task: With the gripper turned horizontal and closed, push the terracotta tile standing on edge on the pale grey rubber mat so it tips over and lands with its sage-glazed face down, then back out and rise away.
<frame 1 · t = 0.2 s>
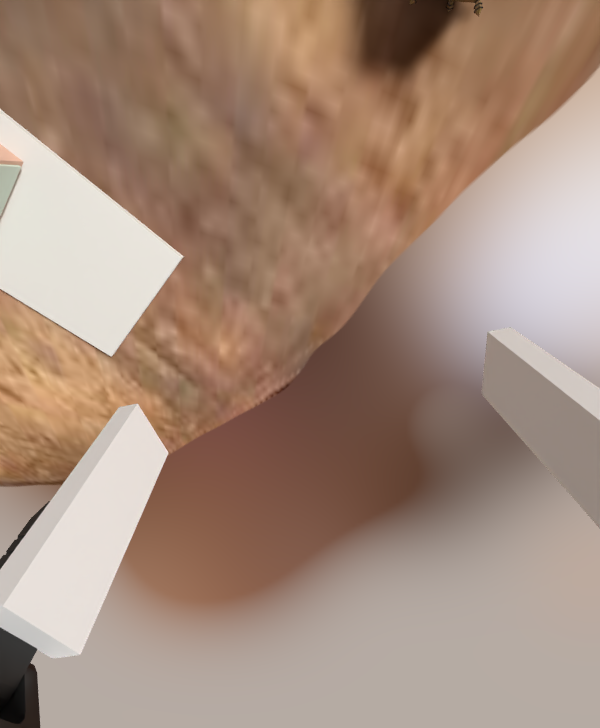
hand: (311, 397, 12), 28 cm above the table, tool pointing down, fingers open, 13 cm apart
rubber mat: (59, 249, 35), on the table
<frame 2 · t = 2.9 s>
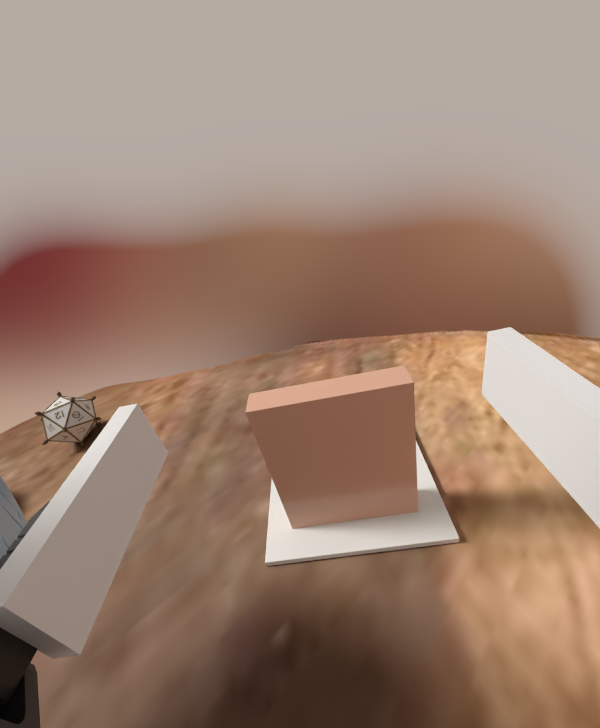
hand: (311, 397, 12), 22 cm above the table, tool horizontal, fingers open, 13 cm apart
terracotta tile: (352, 508, 31), point 1 cm above the table, touching rubber mat
game die: (85, 437, 53), on the table
rubber mat: (344, 460, 37), on the table
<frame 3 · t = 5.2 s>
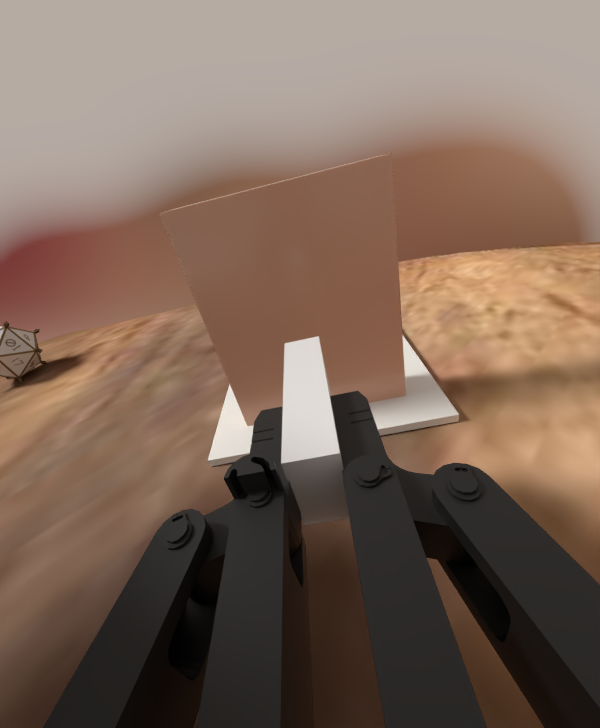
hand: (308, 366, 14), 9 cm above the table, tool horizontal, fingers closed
terracotta tile: (323, 401, 24), point 1 cm above the table, touching rubber mat
game die: (26, 376, 46), on the table
rubber mat: (318, 364, 30), on the table
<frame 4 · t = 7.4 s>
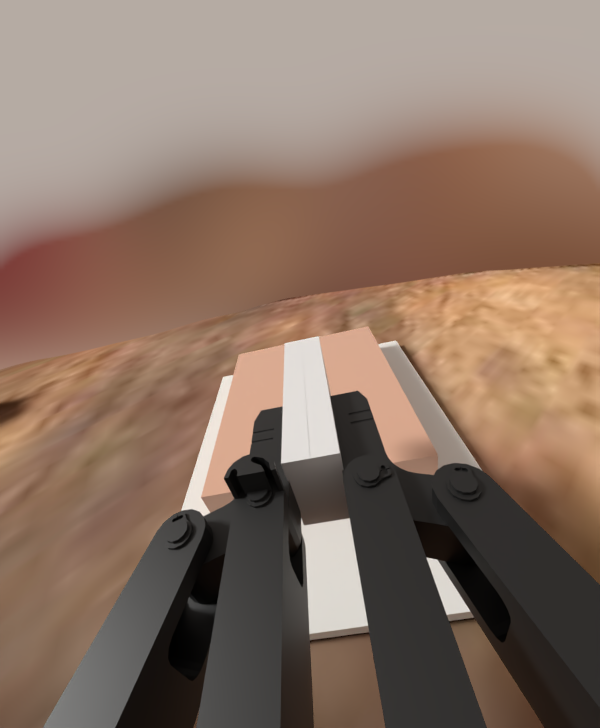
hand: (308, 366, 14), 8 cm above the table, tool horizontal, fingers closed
terracotta tile: (320, 491, 16), point 2 cm above the table, tilted 90°, touching rubber mat
rubber mat: (318, 443, 22), on the table
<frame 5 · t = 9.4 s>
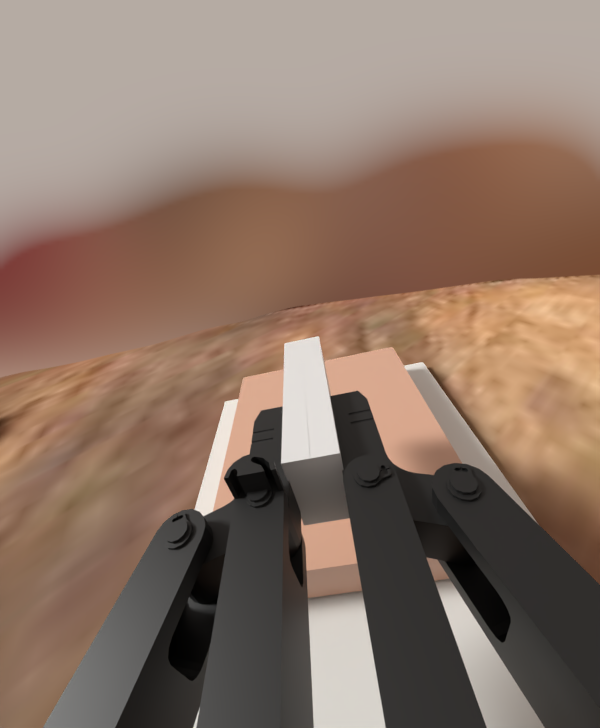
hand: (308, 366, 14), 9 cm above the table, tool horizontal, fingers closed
terracotta tile: (349, 580, 13), point 2 cm above the table, tilted 90°, touching rubber mat
rubber mat: (339, 495, 18), on the table
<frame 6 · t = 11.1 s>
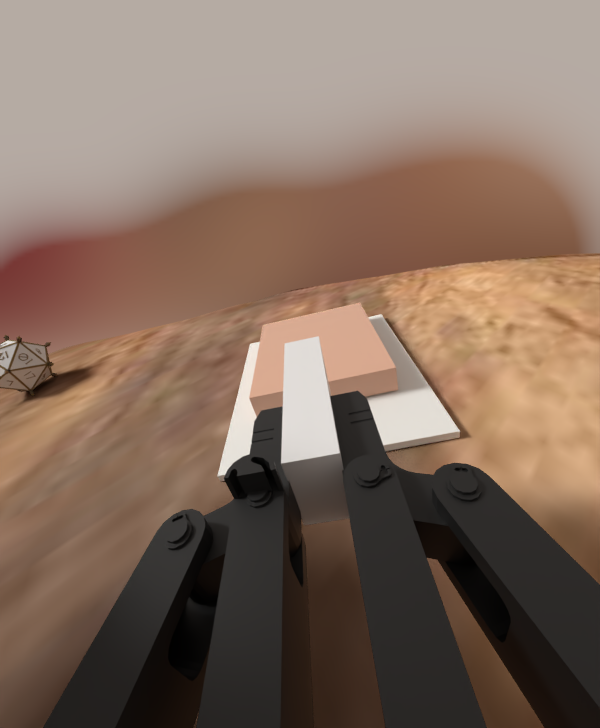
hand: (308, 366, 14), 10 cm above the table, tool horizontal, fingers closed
terracotta tile: (323, 394, 26), point 2 cm above the table, tilted 90°, touching rubber mat
game die: (38, 388, 47), on the table
rubber mat: (322, 378, 31), on the table
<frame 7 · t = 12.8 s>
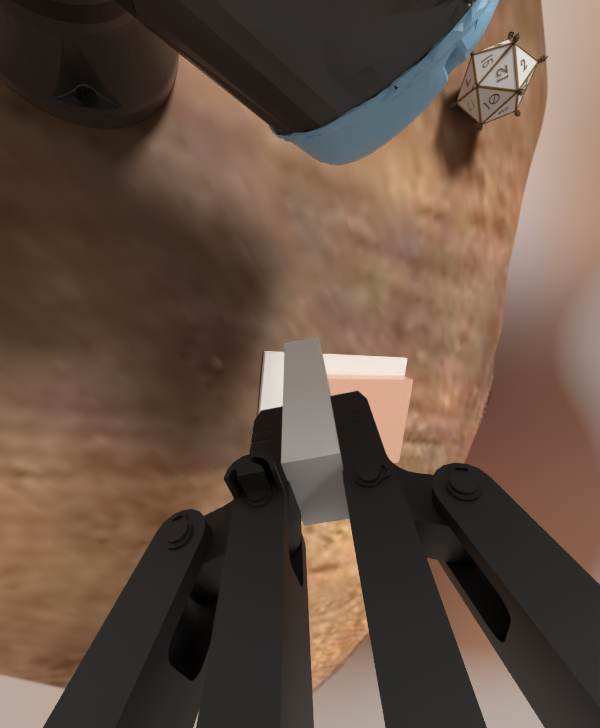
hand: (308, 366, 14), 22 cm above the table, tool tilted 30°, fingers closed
terracotta tile: (304, 424, 38), point 2 cm above the table, tilted 90°, touching rubber mat
game die: (463, 102, 40), on the table
rubber mat: (333, 417, 42), on the table
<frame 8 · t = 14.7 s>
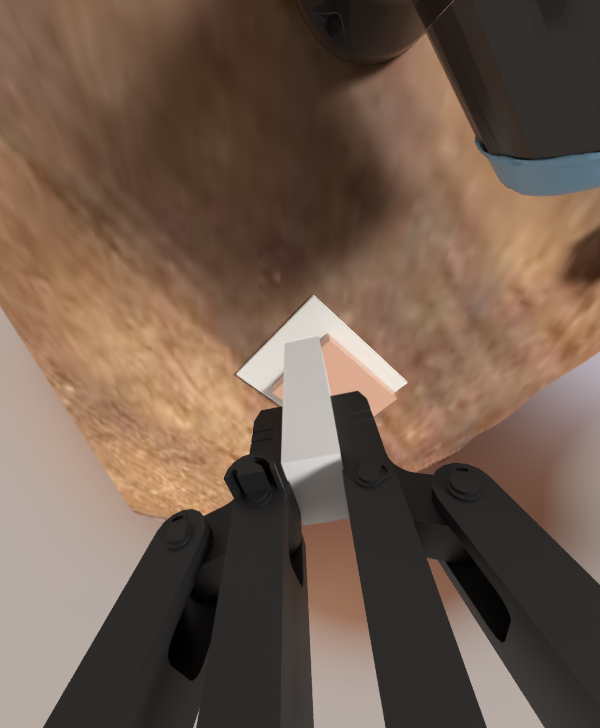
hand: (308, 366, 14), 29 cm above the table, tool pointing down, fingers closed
terracotta tile: (299, 363, 46), point 2 cm above the table, tilted 90°, touching rubber mat
rubber mat: (322, 376, 50), on the table
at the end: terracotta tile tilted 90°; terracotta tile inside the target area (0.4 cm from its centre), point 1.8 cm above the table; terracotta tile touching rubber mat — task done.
